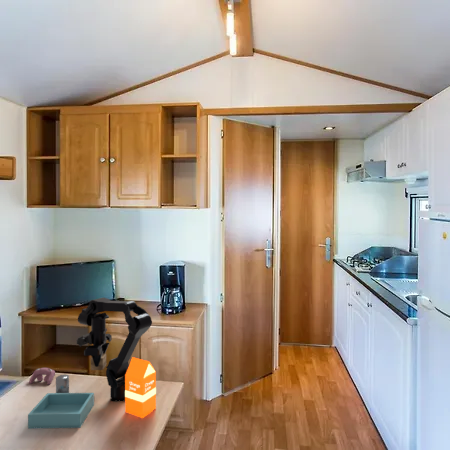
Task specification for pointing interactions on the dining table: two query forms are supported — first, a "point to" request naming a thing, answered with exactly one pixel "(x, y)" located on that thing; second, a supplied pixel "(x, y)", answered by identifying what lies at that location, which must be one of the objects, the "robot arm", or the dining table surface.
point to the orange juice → (140, 388)
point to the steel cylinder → (62, 384)
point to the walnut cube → (101, 364)
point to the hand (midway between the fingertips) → (98, 363)
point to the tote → (61, 410)
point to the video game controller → (43, 371)
